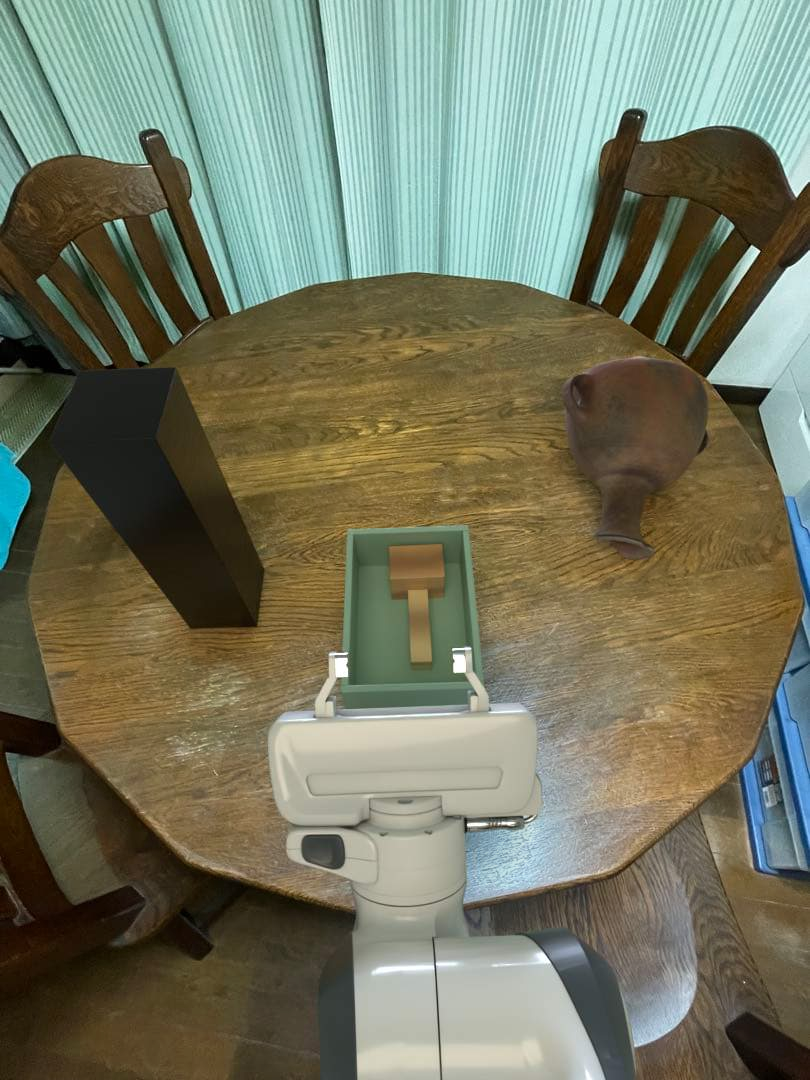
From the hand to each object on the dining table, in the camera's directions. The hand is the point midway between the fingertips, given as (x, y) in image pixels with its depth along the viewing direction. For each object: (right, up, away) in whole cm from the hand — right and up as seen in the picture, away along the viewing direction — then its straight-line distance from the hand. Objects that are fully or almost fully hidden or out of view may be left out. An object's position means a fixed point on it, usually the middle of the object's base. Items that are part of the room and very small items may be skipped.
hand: (400, 649), depth 46 cm
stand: (-24, 0, +36) cm, 43 cm away
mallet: (+2, -2, +32) cm, 32 cm away
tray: (+1, -4, +32) cm, 32 cm away
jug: (+32, +16, +45) cm, 57 cm away
